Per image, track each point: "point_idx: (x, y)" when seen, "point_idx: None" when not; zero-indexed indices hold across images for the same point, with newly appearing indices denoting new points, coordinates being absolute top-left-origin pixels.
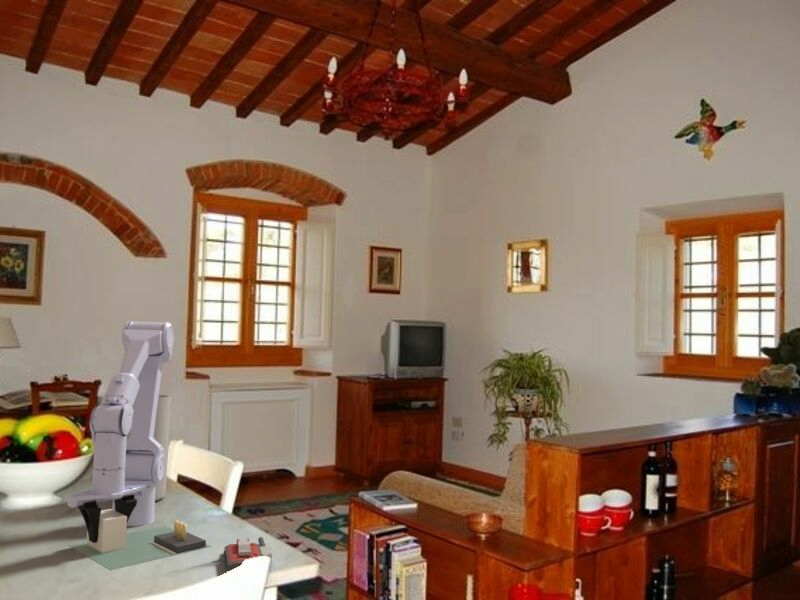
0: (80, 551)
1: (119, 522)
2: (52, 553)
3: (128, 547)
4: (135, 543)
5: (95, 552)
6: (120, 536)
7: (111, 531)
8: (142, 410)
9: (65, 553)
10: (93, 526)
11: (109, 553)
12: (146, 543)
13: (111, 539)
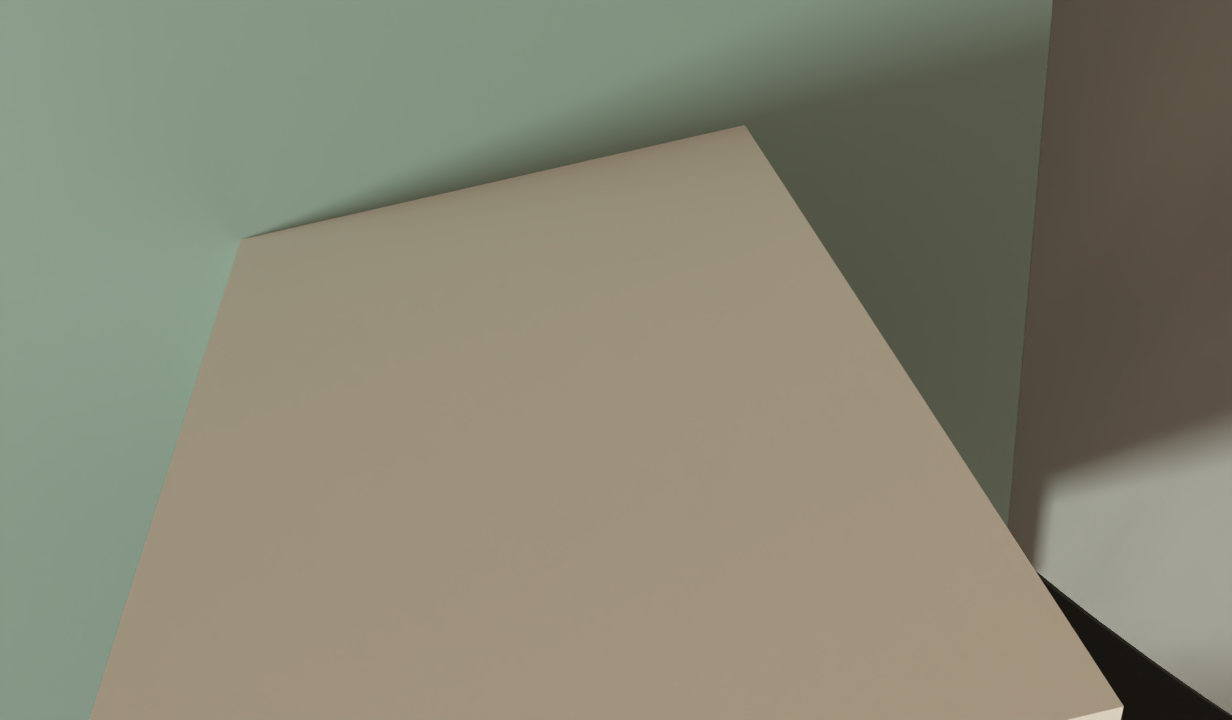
0: (1006, 370)
1: (383, 697)
2: (1150, 562)
3: (180, 255)
4: (26, 432)
5: (836, 222)
6: (354, 368)
7: (642, 434)
8: None
9: (1041, 517)
10: (1135, 665)
11: (627, 35)
12: None
13: (597, 300)
